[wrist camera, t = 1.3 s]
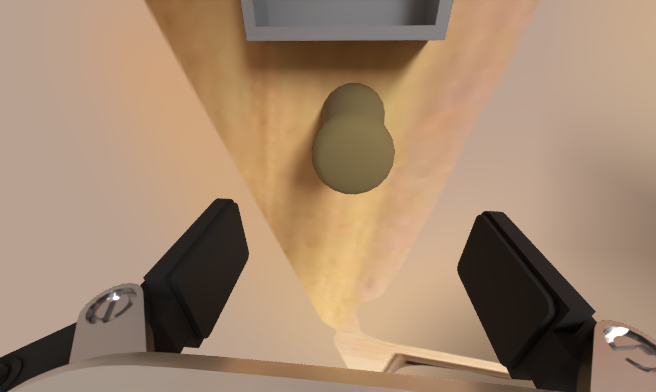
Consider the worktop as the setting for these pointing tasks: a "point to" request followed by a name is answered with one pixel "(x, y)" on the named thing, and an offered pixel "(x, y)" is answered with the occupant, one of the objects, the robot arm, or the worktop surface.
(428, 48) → the worktop surface
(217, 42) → the worktop surface
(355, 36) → the box
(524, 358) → the robot arm
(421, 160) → the worktop surface
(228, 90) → the worktop surface
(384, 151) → the cork
